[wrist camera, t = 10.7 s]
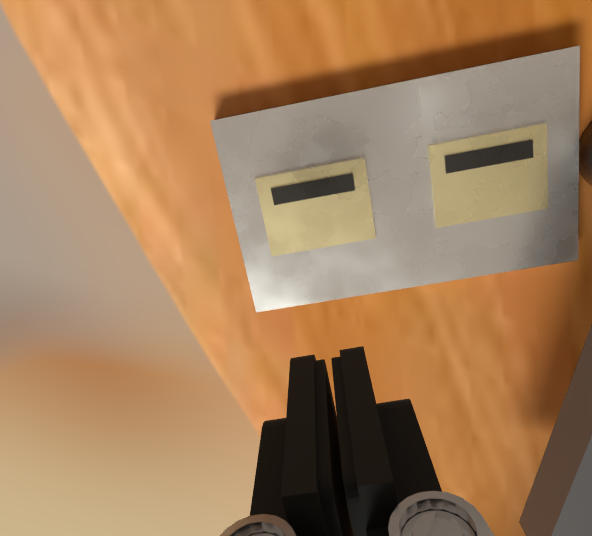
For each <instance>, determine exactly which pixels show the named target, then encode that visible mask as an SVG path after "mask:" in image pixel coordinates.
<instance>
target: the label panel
mask: <svg viewBox="0 0 592 536" xmlns="http://www.w3.org/2000/svg"><path fill="white" fill-rule="evenodd" d="M579 87H580V46H575V47H570V48H565V49H560V50H555V51H551V52H546V53H541V54H536V55H531V56H526V57H521V58H516V59H511V60H506V61H502V62H497V63H492V64H487V65H482V66H477V67H472V68H467V69H462V70H457V71H453V72H448V73H443V74H438V75H433V76H428V77H423V78H418V79H413V80H408V81H403V82H399V83H394V84H389V85H384V86H379V87H374V88H369V89H364V90H359V91H354V92H350V93H345V94H340V95H335V96H330V97H325V98H320V99H315V100H310V101H305V102H301V103H296V104H291V105H286V106H281V107H276V108H271V109H266V110H261V111H256V112H252V113H247V114H242V115H237V116H232V117H227V118H222V119H217V120H212V121H210V123H211V127H212V131H213V135H214V139H215V143H216V148H217V152H218V156H219V160H220V164H221V168H222V172H223V177H224V181H225V185H226V189H227V193H228V197H229V201H230V205H231V210H232V214H233V218H234V222H235V226H236V230H237V234H238V239H239V243H240V247H241V251H242V255H243V259H244V263H245V268H246V272H247V276H248V280H249V284H250V288H251V292H252V297H253V301H254V305H255V309H256V312H261V311H267V310H273V309H280V308H286V307H292V306H298V305H304V304H310V303H317V302H323V301H329V300H335V299H341V298H347V297H354V296H360V295H366V294H372V293H378V292H384V291H391V290H397V289H403V288H409V287H415V286H421V285H428V284H434V283H440V282H446V281H452V280H458V279H465V278H471V277H477V276H483V275H489V274H495V273H502V272H508V271H514V270H520V269H526V268H532V267H538V266H545V265H551V264H557V263H563V262H569V261H575V260H578V210H579Z"/></svg>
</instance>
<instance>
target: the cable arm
mask: <svg viewBox="0 0 592 536" xmlns="http://www.w3.org/2000/svg"><path fill="white" fill-rule="evenodd" d="M519 522H520V524H521V526H522V528H523V530H524V532H525V534H526V536H592V325H591V328H590V331H589V333H588V336H587V339H586V342H585V344H584V347H583V350H582V352H581V355H580V358H579V361H578V363H577V366H576V369H575V371H574V374H573V377H572V380H571V382H570V385H569V388H568V391H567V393H566V396H565V399H564V401H563V404H562V407H561V410H560V412H559V415H558V418H557V420H556V423H555V426H554V429H553V431H552V434H551V437H550V439H549V442H548V445H547V448H546V450H545V453H544V456H543V458H542V461H541V464H540V467H539V469H538V472H537V475H536V477H535V480H534V483H533V486H532V488H531V491H530V494H529V496H528V499H527V502H526V505H525V507H524V510H523V513H522V515H521V518H520V521H519Z"/></svg>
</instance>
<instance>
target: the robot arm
mask: <svg viewBox="0 0 592 536" xmlns="http://www.w3.org/2000/svg"><path fill="white" fill-rule="evenodd" d="M332 369H333V380H334V390H335V401H336V411H335V406H334V402H333V397H332V392H331V387H330V383H329V378H328V373H327V368H326V364H325V360H324V359H323V360H317V361H316V358H315V355H308V356H302V357H296V358H291V360H290V372H289V387H288V402H287V417H286V418H282V419H276V420H269V421H265V422H264V423H263V426H262V432H261V440H260V447H259V454H258V462H257V468H256V475H255V483H254V490H253V497H252V504H251V511H250V516H248V517H246V518H244V519H241V520H239V521H237V522H235V523H234V524H233V525H231V526H230V527H228V528H227V529H226V530H225V531H224V532H223V533H222V534H221V535H220V536H494V534H493V533H492V531H491V529H490V528H489V526H488V525H487V523H486V521H485V520H484V518H483V517H482V515H481V514H480V513H479V512H478V511H477V510H476V508H475V507H474V506H473V505H472V504H470V503H469V502H467V501H466V500H464V499H463V498H461V497H459V496H456V495H453V494H450V493H448V492H442V490H441V487H440V485H439V482H438V479H437V476H436V473H435V470H434V467H433V464H432V461H431V458H430V455H429V453H428V450H427V447H426V444H425V441H424V438H423V435H422V432H421V429H420V426H419V424H418V421H417V418H416V415H415V412H414V409H413V406H412V403H411V401H410V399H404V400H398V401H391V402H385V403H378V404H376V401H375V396H374V392H373V388H372V383H371V379H370V374H369V370H368V366H367V361H366V357H365V352H364V348H363V346H362V347H356V348H350V349H344V350H340V357H335V358H332ZM336 412H337V416H336Z"/></svg>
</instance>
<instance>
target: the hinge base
mask: <svg viewBox="0 0 592 536" xmlns="http://www.w3.org/2000/svg"><path fill="white" fill-rule="evenodd" d="M579 171H580V173H581V175H582V177H583V178H584V179H585V181H586V182H588V183H589V184H590V185H591V186H592V122H591V123H590V124H589V126H588V127H587V128H586V130H585V131H584V133H583V135H582V137H581V139H580V142H579Z"/></svg>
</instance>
